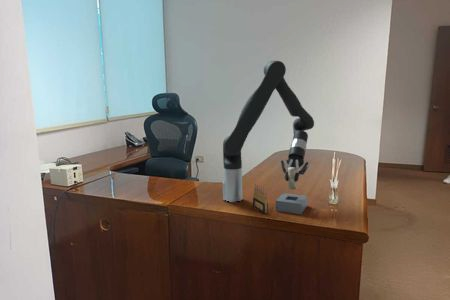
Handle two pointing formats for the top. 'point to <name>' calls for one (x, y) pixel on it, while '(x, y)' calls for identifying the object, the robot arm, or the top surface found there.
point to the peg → (291, 178)
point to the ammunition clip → (260, 199)
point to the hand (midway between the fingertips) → (291, 180)
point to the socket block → (291, 203)
